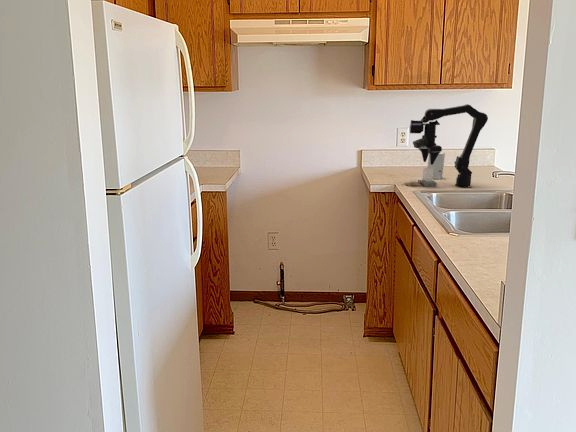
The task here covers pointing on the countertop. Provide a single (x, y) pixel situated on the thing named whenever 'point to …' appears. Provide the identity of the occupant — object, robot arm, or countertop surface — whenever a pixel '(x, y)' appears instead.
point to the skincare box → (437, 166)
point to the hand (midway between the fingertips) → (428, 163)
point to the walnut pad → (412, 184)
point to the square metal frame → (427, 183)
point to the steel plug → (427, 175)
